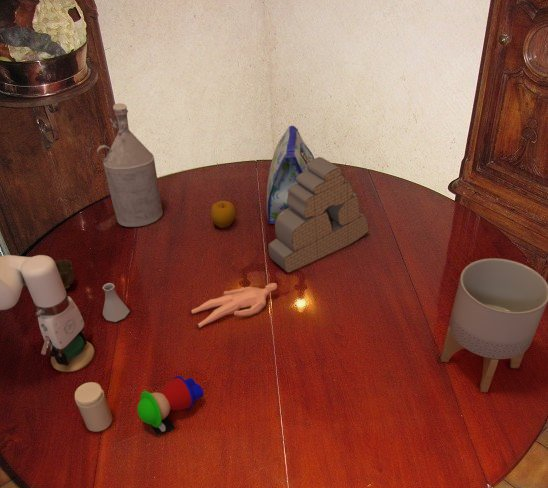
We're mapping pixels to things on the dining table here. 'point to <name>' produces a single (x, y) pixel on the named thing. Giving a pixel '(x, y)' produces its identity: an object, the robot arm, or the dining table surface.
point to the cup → (65, 273)
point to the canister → (131, 176)
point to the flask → (113, 305)
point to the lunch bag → (285, 171)
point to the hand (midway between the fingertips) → (72, 353)
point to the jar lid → (73, 347)
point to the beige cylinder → (93, 406)
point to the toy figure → (168, 403)
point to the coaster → (76, 360)
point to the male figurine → (236, 303)
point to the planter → (495, 313)
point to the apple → (223, 213)
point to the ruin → (317, 217)
